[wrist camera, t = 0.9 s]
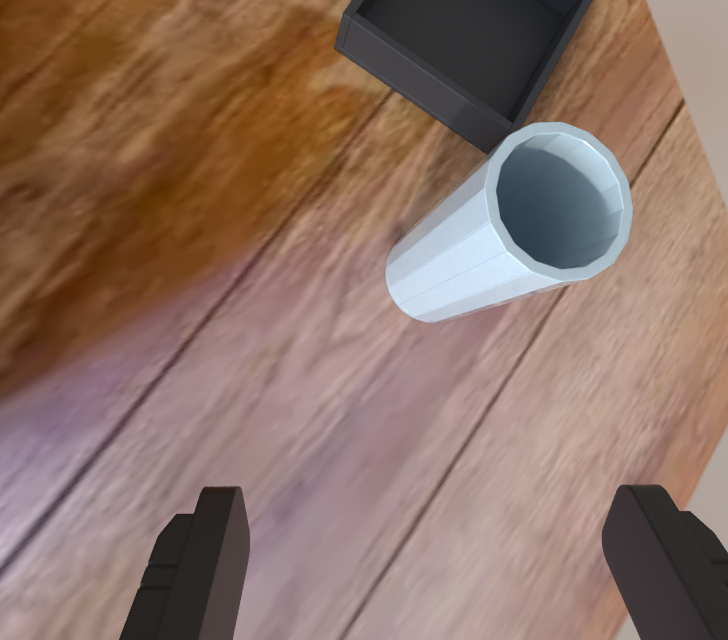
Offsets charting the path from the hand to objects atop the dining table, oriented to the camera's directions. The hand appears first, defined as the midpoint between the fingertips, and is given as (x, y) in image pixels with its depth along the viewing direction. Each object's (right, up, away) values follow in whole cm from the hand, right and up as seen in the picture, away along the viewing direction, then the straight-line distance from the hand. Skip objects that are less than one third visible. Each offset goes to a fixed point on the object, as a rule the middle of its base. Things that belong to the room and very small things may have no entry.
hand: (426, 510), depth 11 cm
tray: (+5, +25, +26) cm, 36 cm away
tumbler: (+3, +7, +24) cm, 25 cm away
